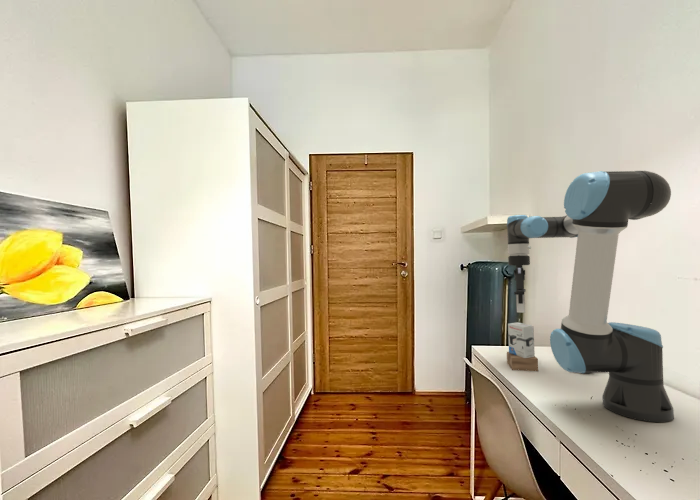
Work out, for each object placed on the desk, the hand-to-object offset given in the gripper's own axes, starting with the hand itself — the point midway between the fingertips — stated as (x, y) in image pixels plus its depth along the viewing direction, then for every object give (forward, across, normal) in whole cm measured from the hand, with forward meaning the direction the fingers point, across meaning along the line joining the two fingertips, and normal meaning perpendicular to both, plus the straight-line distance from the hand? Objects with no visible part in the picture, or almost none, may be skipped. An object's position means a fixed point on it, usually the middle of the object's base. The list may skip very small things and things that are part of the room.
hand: (520, 310), depth 136 cm
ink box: (+18, +1, 0) cm, 18 cm away
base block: (+22, +1, 0) cm, 22 cm away
